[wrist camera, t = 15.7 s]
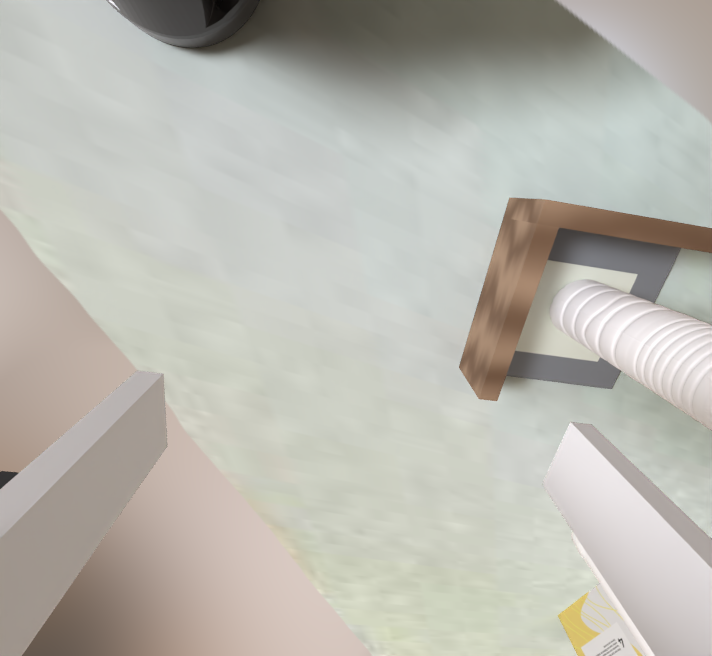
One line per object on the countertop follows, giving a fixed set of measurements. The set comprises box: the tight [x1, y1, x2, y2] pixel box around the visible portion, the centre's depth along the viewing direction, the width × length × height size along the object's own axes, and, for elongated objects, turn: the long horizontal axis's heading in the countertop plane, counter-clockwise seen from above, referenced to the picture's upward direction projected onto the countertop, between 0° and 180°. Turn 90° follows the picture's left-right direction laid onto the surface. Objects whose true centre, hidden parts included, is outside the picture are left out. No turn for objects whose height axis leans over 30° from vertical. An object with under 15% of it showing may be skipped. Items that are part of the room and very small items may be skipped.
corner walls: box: [459, 198, 712, 401], centre depth 37 cm, size 20×20×7 cm
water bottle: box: [550, 279, 712, 431], centre depth 28 cm, size 9×6×25 cm
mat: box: [506, 228, 681, 389], centre depth 40 cm, size 18×18×1 cm
